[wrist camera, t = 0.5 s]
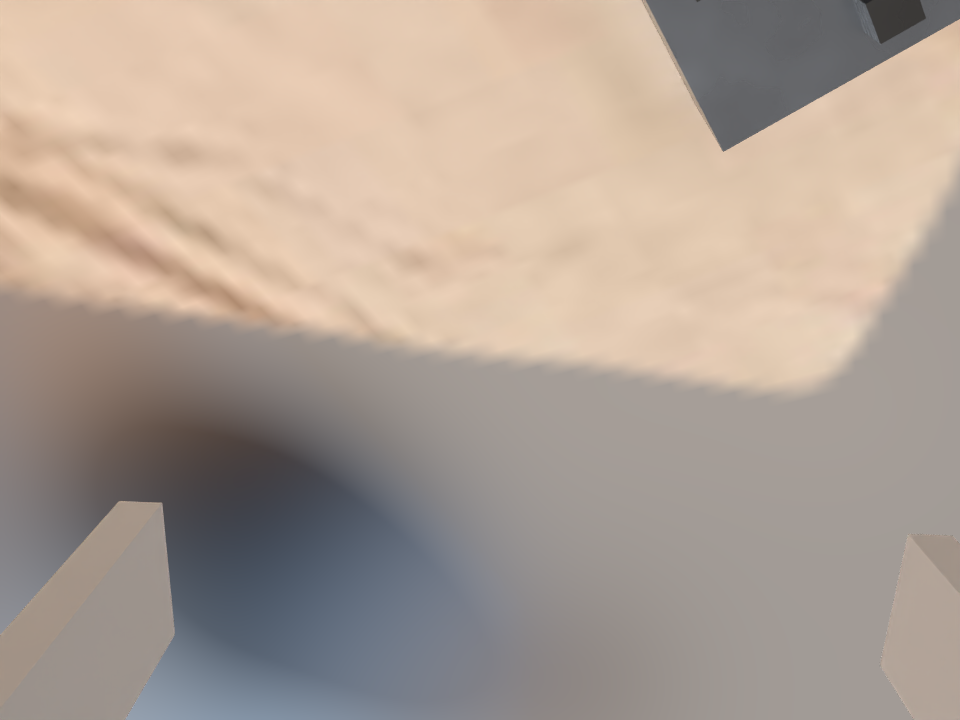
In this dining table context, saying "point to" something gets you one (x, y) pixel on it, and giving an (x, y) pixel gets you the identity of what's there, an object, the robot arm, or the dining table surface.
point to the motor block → (783, 51)
